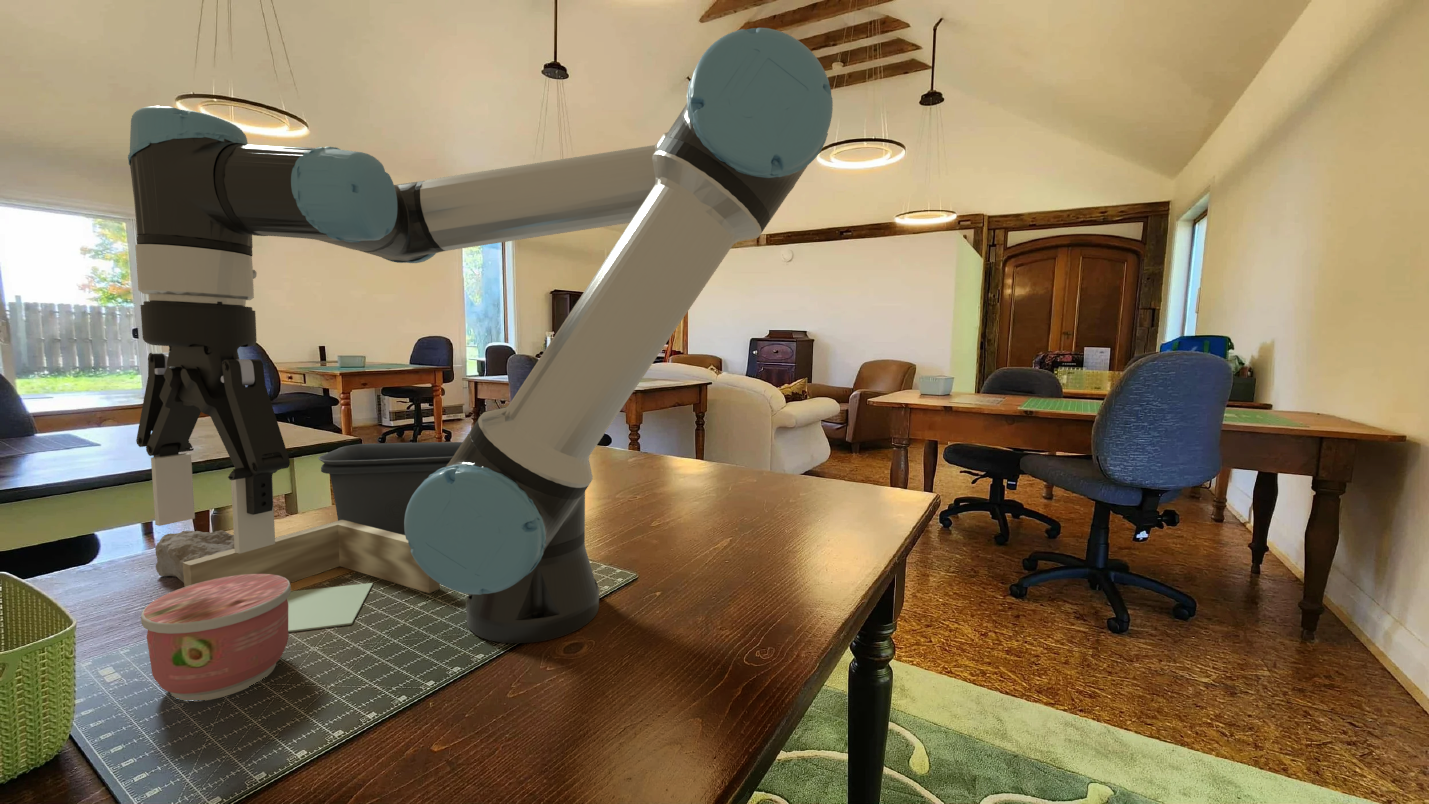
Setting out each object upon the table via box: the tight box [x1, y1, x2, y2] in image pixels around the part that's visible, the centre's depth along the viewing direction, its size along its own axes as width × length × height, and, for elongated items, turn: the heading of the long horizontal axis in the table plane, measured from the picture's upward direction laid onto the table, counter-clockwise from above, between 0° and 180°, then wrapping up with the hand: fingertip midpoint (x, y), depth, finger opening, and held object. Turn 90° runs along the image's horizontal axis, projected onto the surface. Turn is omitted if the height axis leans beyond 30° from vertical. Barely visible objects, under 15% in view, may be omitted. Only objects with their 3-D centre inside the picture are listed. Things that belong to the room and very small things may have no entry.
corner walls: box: [183, 520, 441, 594], centre depth 69 cm, size 20×18×6 cm
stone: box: [154, 529, 235, 584], centre depth 75 cm, size 8×10×6 cm
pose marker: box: [287, 582, 374, 633], centre depth 67 cm, size 11×11×1 cm
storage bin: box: [317, 441, 463, 535], centre depth 93 cm, size 21×16×14 cm
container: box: [140, 574, 292, 701], centre depth 53 cm, size 10×10×8 cm
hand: (213, 534), depth 52 cm, fingers open, 13 cm apart
